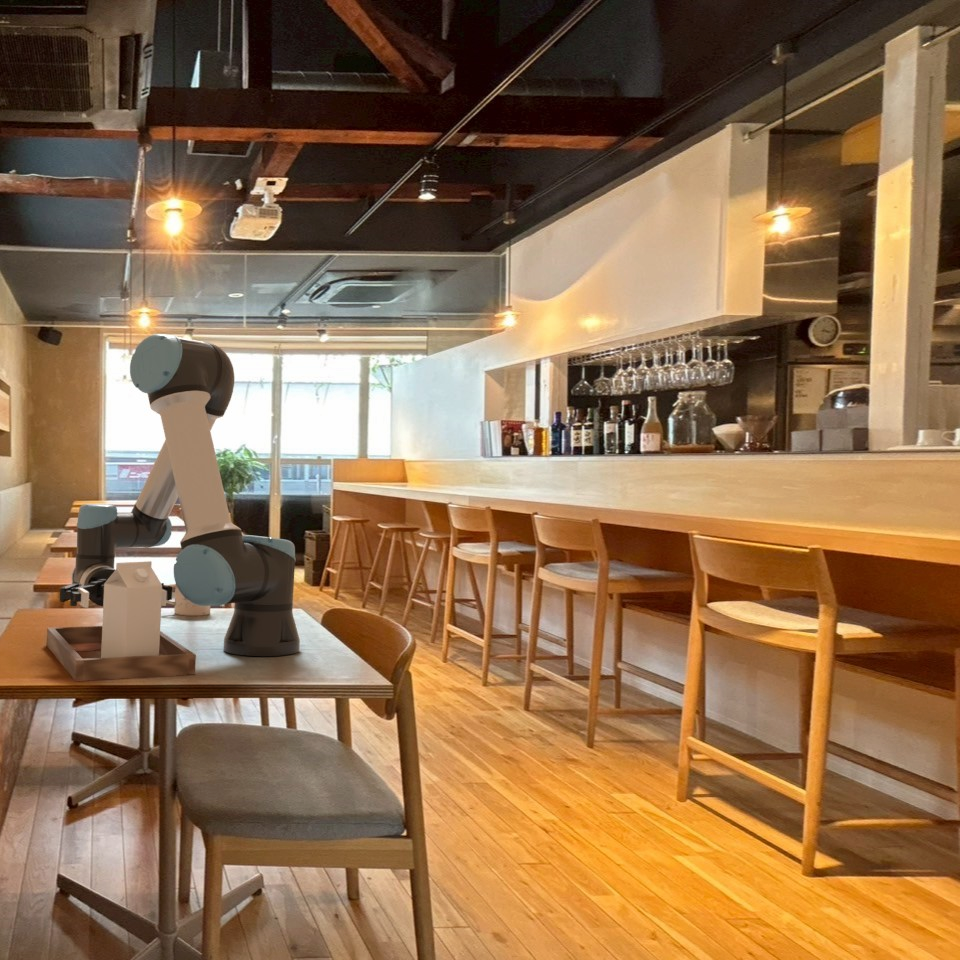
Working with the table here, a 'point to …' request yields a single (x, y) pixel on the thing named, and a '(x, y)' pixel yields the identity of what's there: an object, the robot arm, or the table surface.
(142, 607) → the milk carton
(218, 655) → the table surface
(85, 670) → the box
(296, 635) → the robot arm
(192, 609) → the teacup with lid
